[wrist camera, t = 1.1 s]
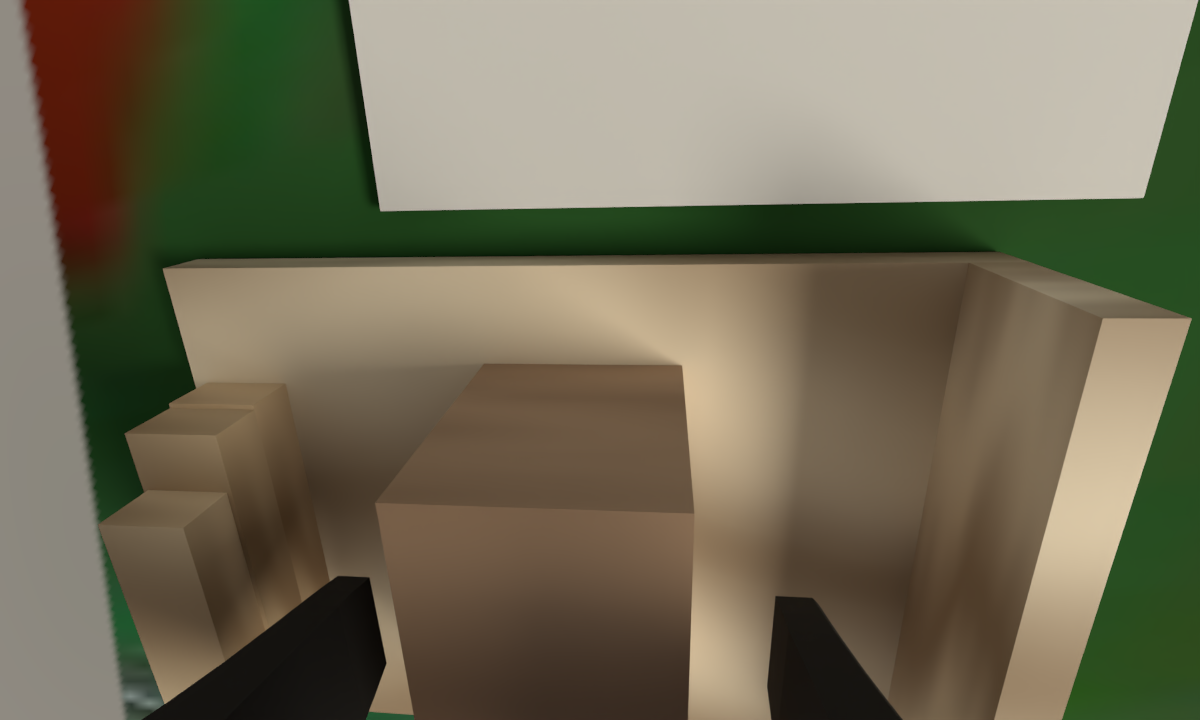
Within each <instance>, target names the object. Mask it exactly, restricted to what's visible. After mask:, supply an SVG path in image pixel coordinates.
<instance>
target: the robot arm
mask: <svg viewBox="0 0 1200 720" xmlns="http://www.w3.org/2000/svg"><path fill="white" fill-rule="evenodd" d="M386 664H387V662H386V657H385V652H384V647H383V642H382V637H381V632H380V627H379V622H378V617H377V612H376V607H375V602H374V597H373V592H372V587H371V582H370V577H353V576H337V577H335V578H334V579H333V580H331V581H330V582H328V583H327V584H326V585H324V586H323V587H322V588H320V589H319V590H317V591H316V592H315V593H314V594H312V595H311V596H310V597H308V598H307V599H306V600H304V601H303V602H302V603H300V604H299V605H298V606H297V607H295V608H294V609H293V610H291V611H290V612H289V613H288V614H286V615H285V616H284V617H282V618H281V619H280V620H279V621H277V622H276V623H275V624H273V625H272V626H271V627H269V628H268V629H267V630H266V631H264V632H263V633H262V634H260V635H259V636H258V637H256V638H255V639H254V640H252V641H251V642H250V643H248V644H247V645H246V646H244V647H243V648H242V649H240V650H239V651H238V652H237V653H235V654H234V655H233V656H231V657H230V658H229V659H227V660H226V661H225V662H223V663H222V664H221V665H219V666H218V667H216V668H215V669H213V670H212V671H211V672H209V673H208V674H206V675H205V676H204V677H202V678H201V679H199V680H198V681H197V682H195V683H194V684H192V685H191V686H190V687H188V688H187V689H185V690H184V691H183V692H181V693H180V694H178V695H177V696H175V697H174V698H173V699H171V700H170V701H168V702H167V703H166V704H164V705H163V706H161V707H160V708H159V709H157V710H156V711H154V712H153V713H151V714H150V715H148V716H147V717H145V718H144V719H142V720H366V717H367V715H368V712H369V710H370V707H371V705H372V702H373V700H374V697H375V694H376V692H377V689H378V686H379V683H380V680H381V678H382V675H383V672H384V669H385V667H386ZM767 690H768V698H769V706H770V714H771V720H903V719H902V718H901V717H900V716H899V714H898V713H897V712H896V710H895V709H894V708H893V707H892V705H891V704H890V703H889V701H888V700H887V699H886V698H885V696H884V695H883V694H882V693H881V691H880V690H879V689H878V687H877V686H876V685H875V684H874V682H873V681H872V680H871V678H870V677H869V676H868V674H867V673H866V671H865V670H864V669H863V667H862V666H861V665H860V663H859V662H858V661H857V659H856V658H855V656H854V655H853V654H852V652H851V651H850V649H849V648H848V647H847V645H846V644H845V642H844V641H843V639H842V638H841V637H840V635H839V634H838V632H837V631H836V629H835V628H834V626H833V625H832V623H831V622H830V621H829V619H828V618H827V616H826V615H825V613H824V612H823V610H822V608H821V607H820V605H819V604H818V603H817V602H816V601H815V600H814V599H813V598H807V597H786V596H775V606H774V617H773V627H772V638H771V649H770V660H769V670H768V681H767Z"/></svg>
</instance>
